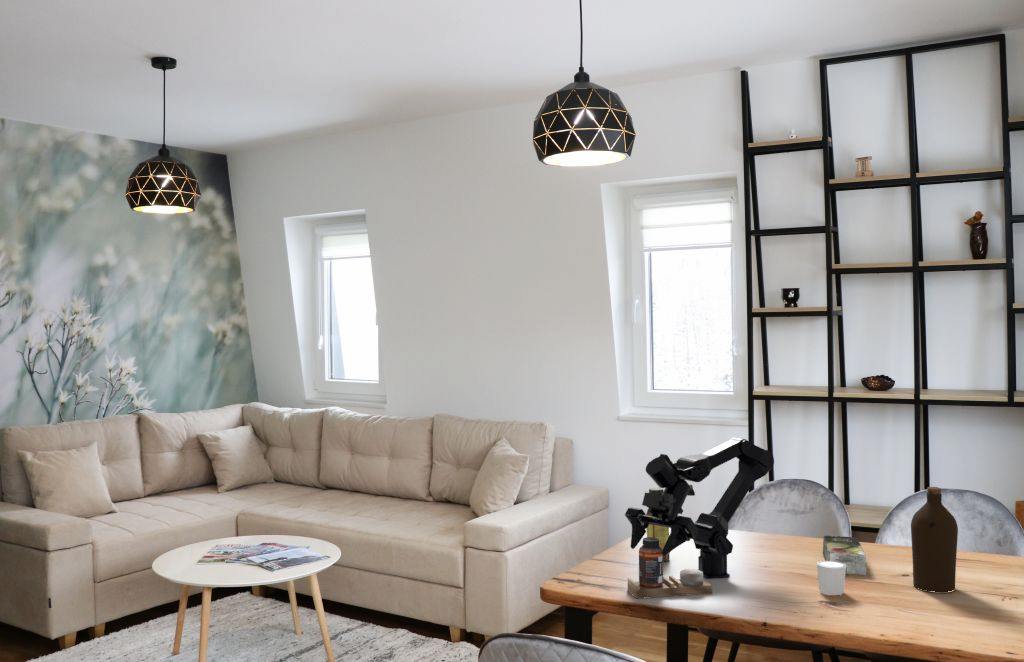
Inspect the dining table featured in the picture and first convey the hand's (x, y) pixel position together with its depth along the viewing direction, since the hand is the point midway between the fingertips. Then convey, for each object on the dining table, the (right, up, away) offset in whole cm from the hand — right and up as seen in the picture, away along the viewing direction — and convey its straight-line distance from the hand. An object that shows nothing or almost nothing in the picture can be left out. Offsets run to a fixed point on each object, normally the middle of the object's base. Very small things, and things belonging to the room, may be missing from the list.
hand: (647, 551), depth 215 cm
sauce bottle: (+8, -10, +32) cm, 34 cm away
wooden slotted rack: (+6, -11, +2) cm, 12 cm away
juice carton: (+58, -11, +26) cm, 64 cm away
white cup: (+45, -11, +1) cm, 47 cm away
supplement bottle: (+1, -9, +1) cm, 9 cm away
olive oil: (+72, -10, +5) cm, 73 cm away
